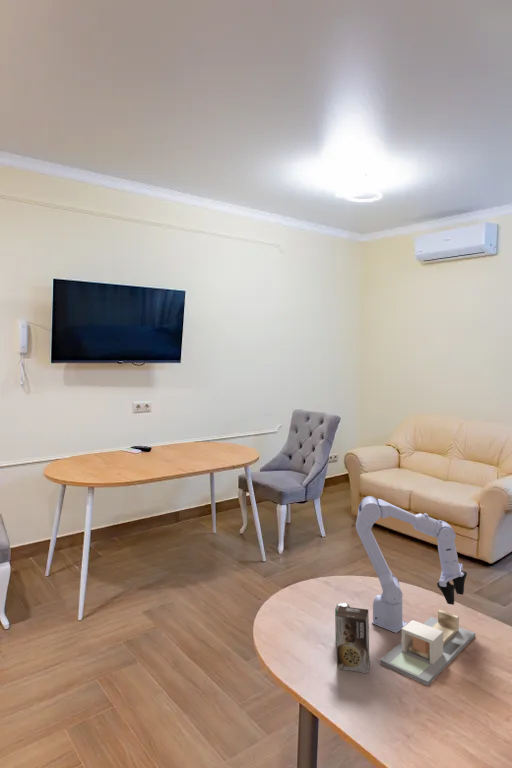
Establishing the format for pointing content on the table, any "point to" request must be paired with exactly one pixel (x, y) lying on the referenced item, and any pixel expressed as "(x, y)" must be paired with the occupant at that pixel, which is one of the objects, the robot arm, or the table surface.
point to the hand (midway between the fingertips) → (455, 598)
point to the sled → (442, 629)
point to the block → (421, 645)
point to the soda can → (336, 612)
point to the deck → (420, 665)
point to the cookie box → (352, 639)
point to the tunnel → (423, 638)
